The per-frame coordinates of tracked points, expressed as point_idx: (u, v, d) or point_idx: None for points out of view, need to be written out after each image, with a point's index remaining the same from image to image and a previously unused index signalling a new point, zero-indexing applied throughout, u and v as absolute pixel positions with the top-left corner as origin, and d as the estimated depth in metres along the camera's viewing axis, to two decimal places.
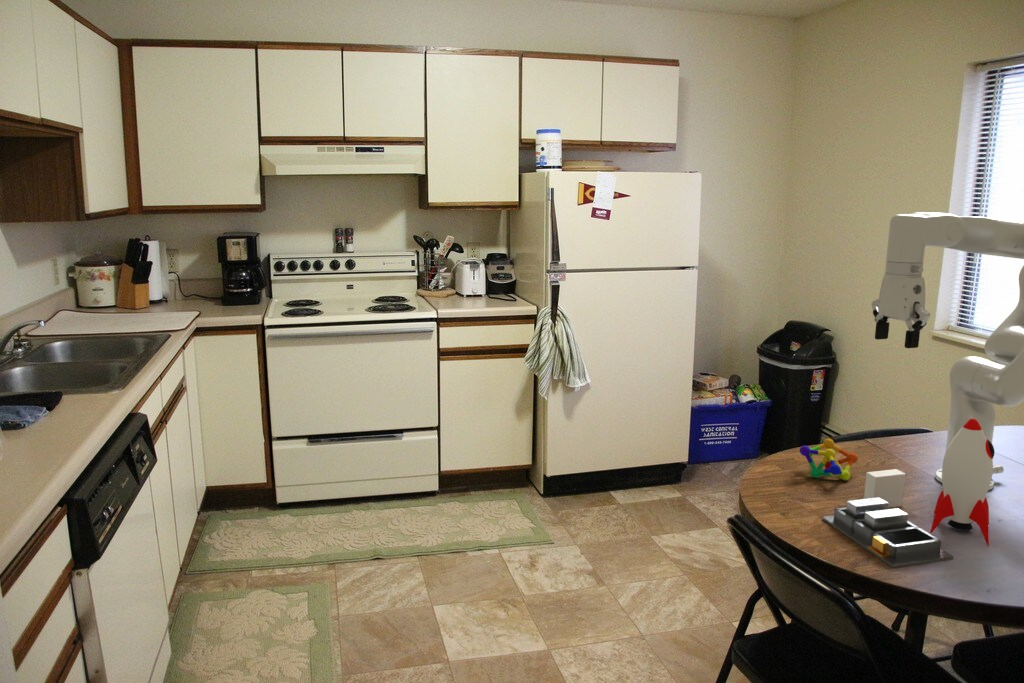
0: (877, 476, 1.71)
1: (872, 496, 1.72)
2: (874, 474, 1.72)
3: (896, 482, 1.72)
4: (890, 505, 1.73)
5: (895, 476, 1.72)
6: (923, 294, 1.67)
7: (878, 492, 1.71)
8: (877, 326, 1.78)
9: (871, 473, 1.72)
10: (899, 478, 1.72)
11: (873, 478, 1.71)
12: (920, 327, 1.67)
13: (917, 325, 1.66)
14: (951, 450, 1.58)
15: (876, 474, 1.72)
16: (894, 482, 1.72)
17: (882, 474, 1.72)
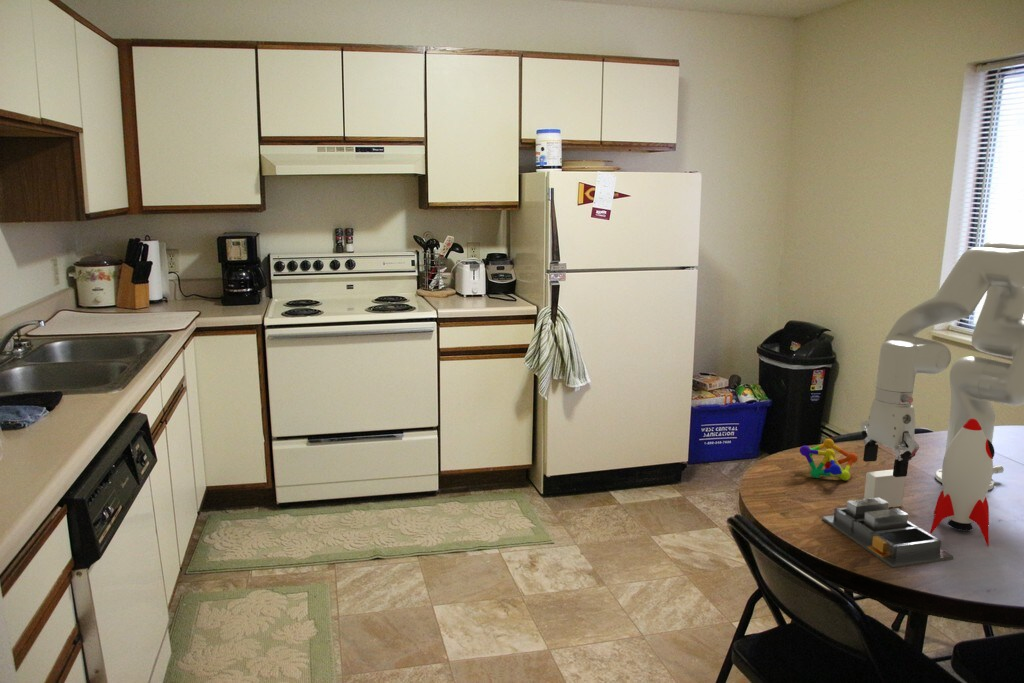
0: (877, 476, 1.71)
1: (872, 496, 1.72)
2: (874, 474, 1.72)
3: (896, 482, 1.72)
4: (890, 505, 1.73)
5: None
6: (912, 424, 1.65)
7: (878, 492, 1.71)
8: (866, 448, 1.75)
9: (871, 473, 1.72)
10: (900, 478, 1.72)
11: (873, 478, 1.71)
12: (909, 457, 1.65)
13: (906, 456, 1.64)
14: (951, 450, 1.58)
15: (876, 474, 1.72)
16: (894, 482, 1.72)
17: (882, 474, 1.72)
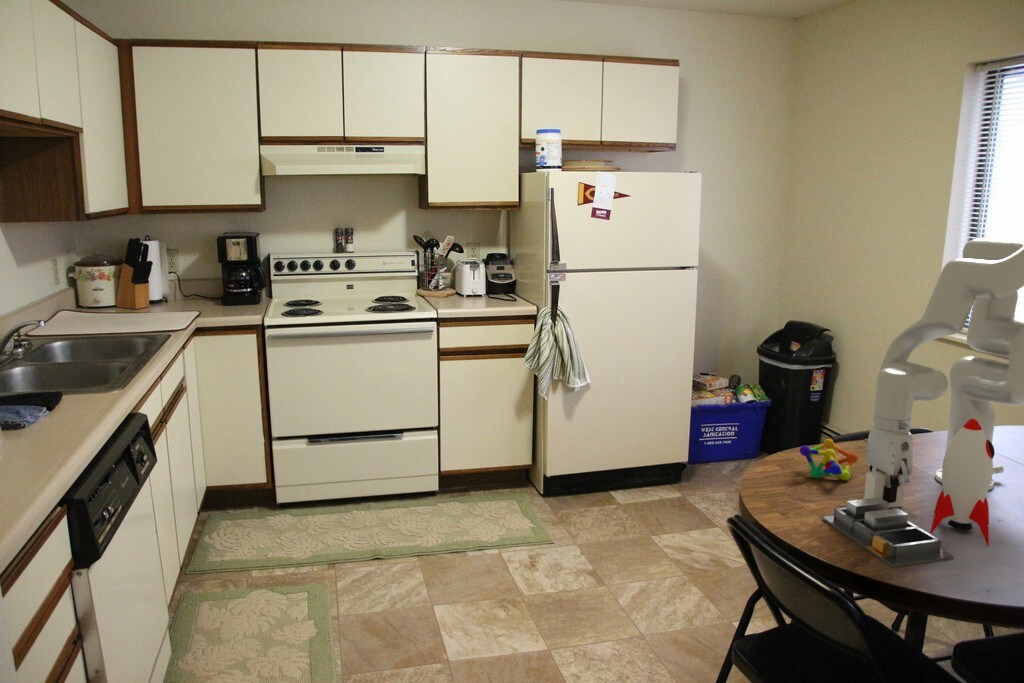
0: (877, 476, 1.71)
1: (872, 496, 1.72)
2: (874, 474, 1.72)
3: None
4: (890, 505, 1.73)
5: None
6: (911, 451, 1.67)
7: (878, 492, 1.71)
8: None
9: (871, 473, 1.72)
10: None
11: (873, 478, 1.71)
12: (897, 484, 1.69)
13: (894, 483, 1.69)
14: (951, 450, 1.58)
15: (876, 474, 1.72)
16: None
17: (882, 474, 1.72)
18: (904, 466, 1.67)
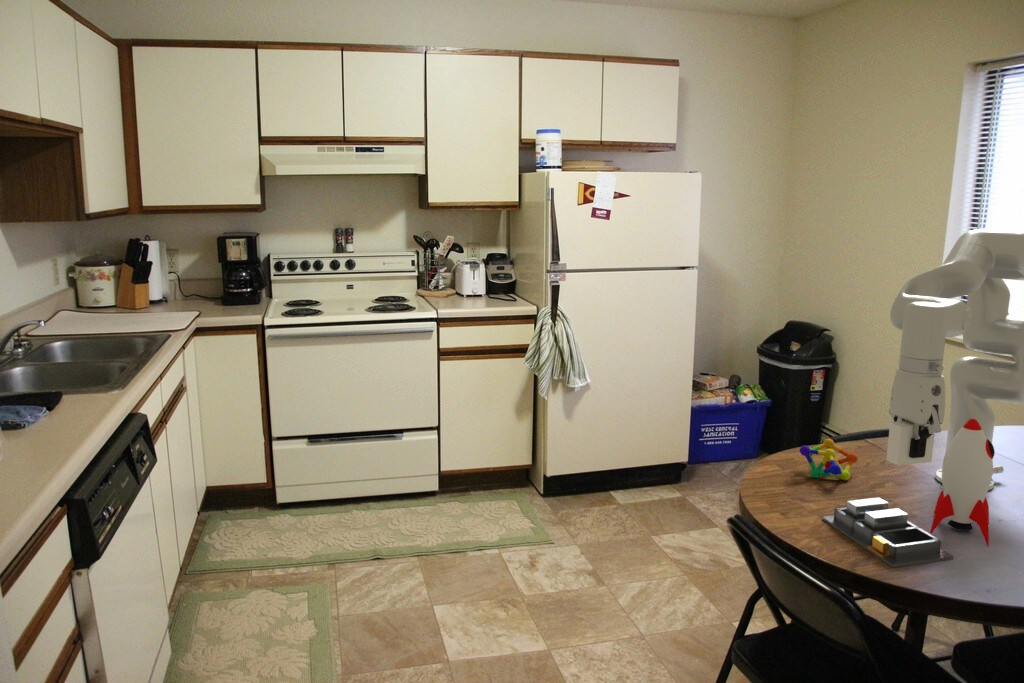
0: (903, 426, 1.49)
1: (896, 449, 1.49)
2: (899, 424, 1.50)
3: None
4: (917, 460, 1.51)
5: None
6: (943, 396, 1.45)
7: (903, 445, 1.49)
8: None
9: (896, 423, 1.50)
10: None
11: (898, 428, 1.49)
12: (927, 436, 1.47)
13: (923, 434, 1.47)
14: (951, 450, 1.58)
15: (901, 424, 1.50)
16: None
17: (908, 424, 1.50)
18: (935, 413, 1.45)
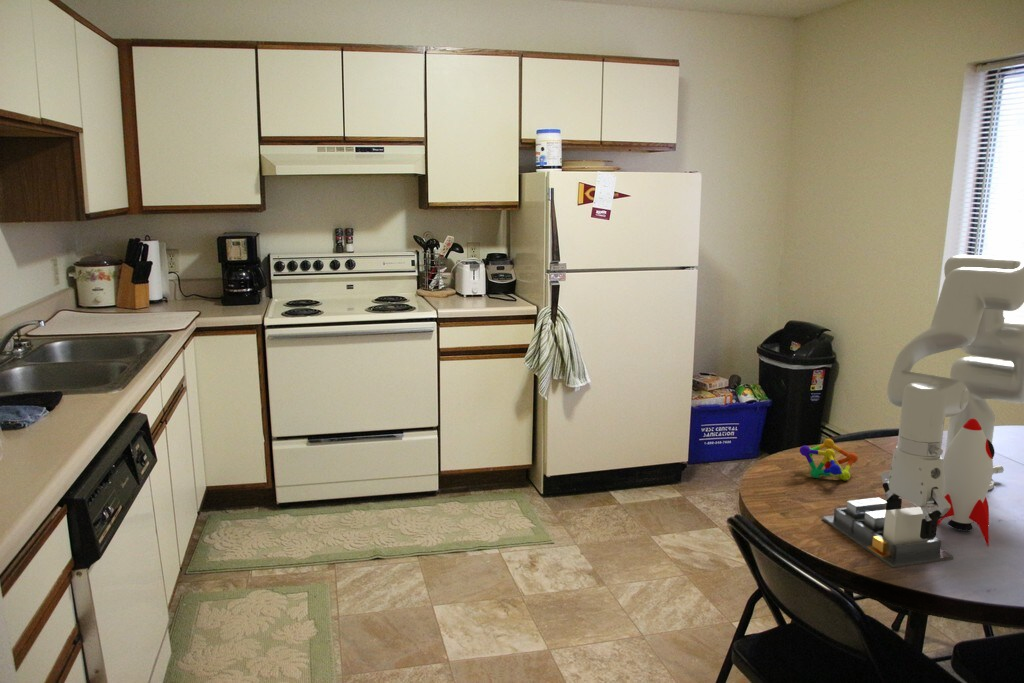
0: (898, 515, 1.49)
1: (892, 538, 1.50)
2: (895, 513, 1.50)
3: (920, 522, 1.50)
4: None
5: (918, 515, 1.50)
6: (942, 478, 1.44)
7: (899, 534, 1.50)
8: (888, 504, 1.54)
9: (891, 512, 1.51)
10: (924, 517, 1.50)
11: (893, 518, 1.50)
12: (938, 517, 1.44)
13: (935, 516, 1.43)
14: (951, 450, 1.58)
15: (896, 513, 1.50)
16: (918, 522, 1.50)
17: (904, 513, 1.50)
18: (938, 492, 1.44)
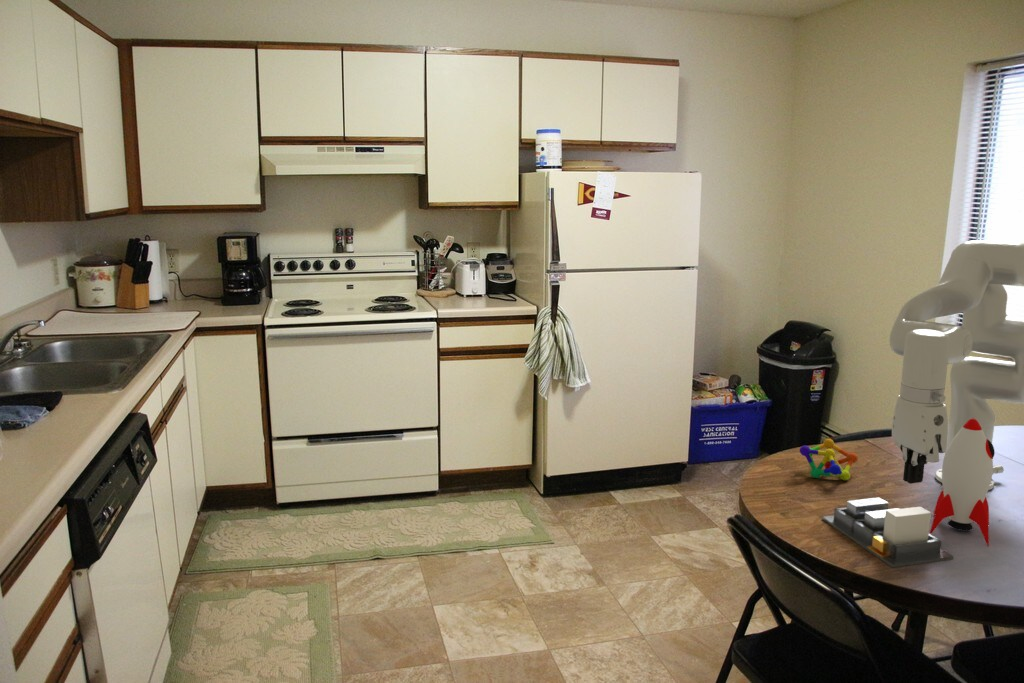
0: (898, 515, 1.49)
1: (892, 538, 1.50)
2: (895, 513, 1.50)
3: (920, 522, 1.50)
4: None
5: (918, 515, 1.50)
6: (945, 425, 1.43)
7: (899, 534, 1.50)
8: (906, 466, 1.50)
9: (891, 512, 1.51)
10: (924, 517, 1.50)
11: (893, 518, 1.50)
12: (924, 462, 1.47)
13: (921, 460, 1.47)
14: (951, 450, 1.58)
15: (896, 513, 1.50)
16: (918, 522, 1.50)
17: (904, 513, 1.50)
18: (936, 444, 1.44)
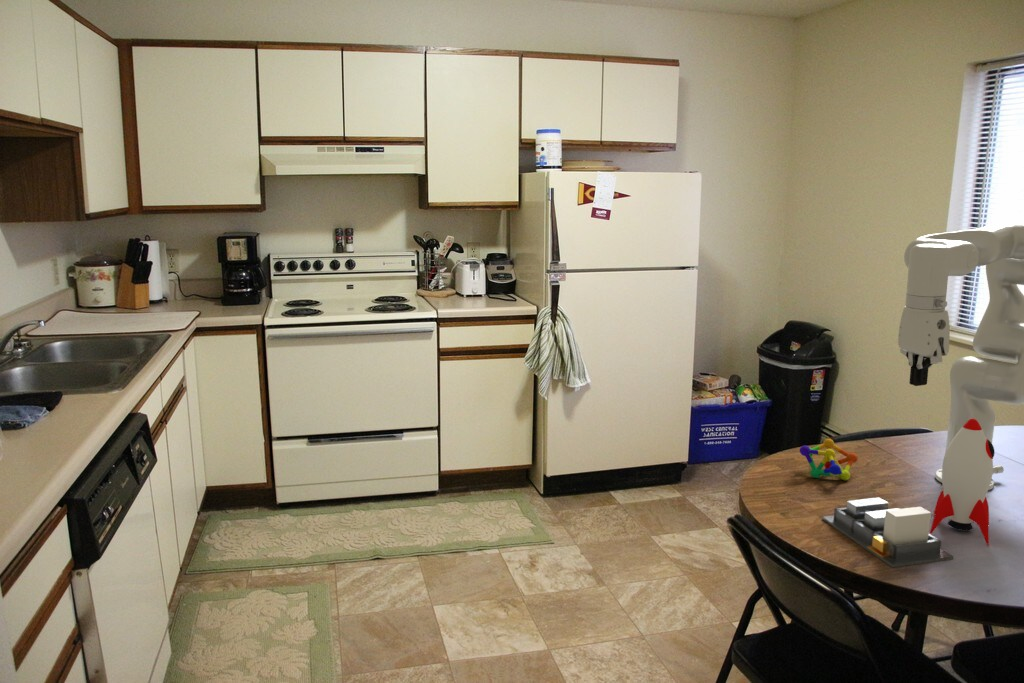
0: (898, 515, 1.49)
1: (892, 538, 1.50)
2: (895, 513, 1.50)
3: (920, 522, 1.50)
4: None
5: (918, 515, 1.50)
6: (947, 329, 1.58)
7: (899, 534, 1.50)
8: (912, 371, 1.65)
9: (891, 512, 1.51)
10: (924, 517, 1.50)
11: (893, 518, 1.50)
12: (929, 365, 1.62)
13: (926, 363, 1.62)
14: (951, 450, 1.58)
15: (896, 513, 1.50)
16: (918, 522, 1.50)
17: (904, 513, 1.50)
18: (939, 346, 1.59)
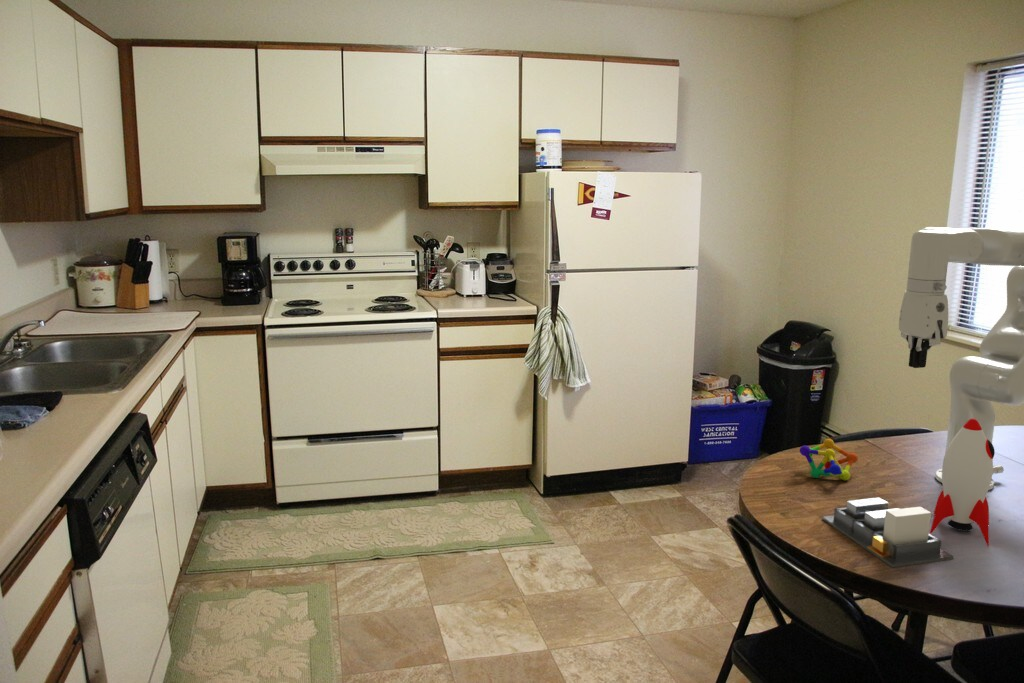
0: (898, 515, 1.49)
1: (892, 538, 1.50)
2: (895, 513, 1.50)
3: (920, 522, 1.50)
4: None
5: (918, 515, 1.50)
6: (946, 312, 1.64)
7: (899, 534, 1.50)
8: (911, 353, 1.70)
9: (891, 512, 1.51)
10: (924, 517, 1.50)
11: (893, 518, 1.50)
12: (927, 347, 1.68)
13: (924, 345, 1.67)
14: (951, 450, 1.58)
15: (896, 513, 1.50)
16: (918, 522, 1.50)
17: (904, 513, 1.50)
18: (938, 329, 1.65)
